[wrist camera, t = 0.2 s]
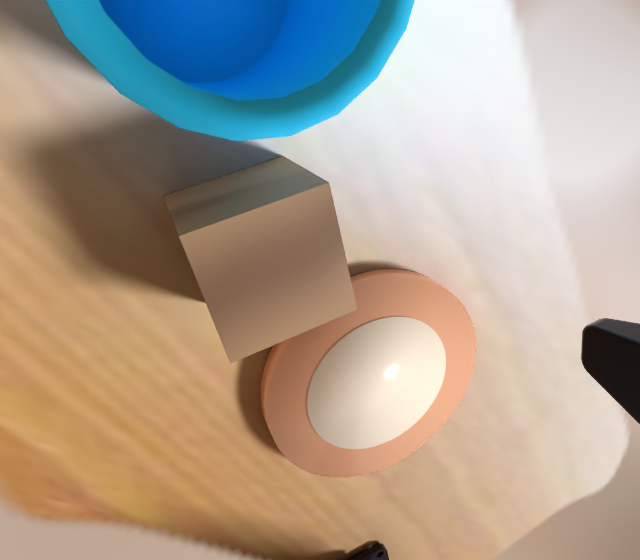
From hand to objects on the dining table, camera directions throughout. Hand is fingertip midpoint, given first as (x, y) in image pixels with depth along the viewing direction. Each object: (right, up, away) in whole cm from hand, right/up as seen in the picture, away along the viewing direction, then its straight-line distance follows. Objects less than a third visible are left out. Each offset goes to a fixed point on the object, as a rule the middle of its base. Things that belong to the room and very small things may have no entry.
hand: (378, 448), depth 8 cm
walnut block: (-4, +5, +12) cm, 14 cm away
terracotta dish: (+2, -2, +18) cm, 18 cm away
